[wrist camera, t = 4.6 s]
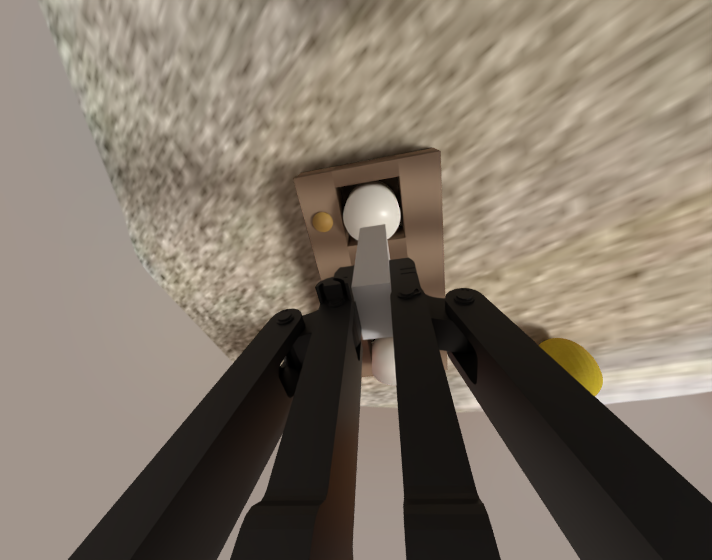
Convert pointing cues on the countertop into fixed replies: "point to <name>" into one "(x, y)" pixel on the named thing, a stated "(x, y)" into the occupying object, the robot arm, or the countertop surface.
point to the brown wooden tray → (411, 240)
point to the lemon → (575, 362)
